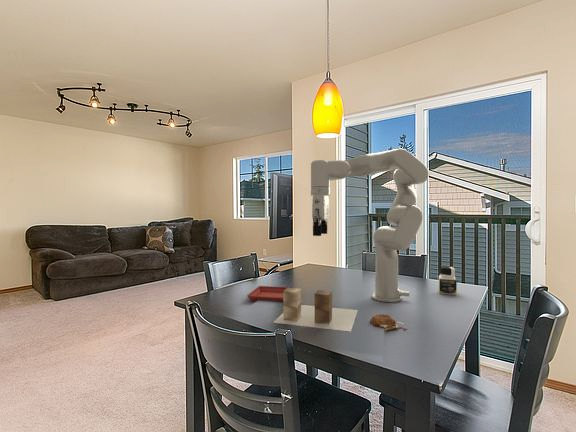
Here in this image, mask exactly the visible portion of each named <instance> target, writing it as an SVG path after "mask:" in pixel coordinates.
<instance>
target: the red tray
mask: <svg viewBox="0 0 576 432" xmlns="http://www.w3.org/2000/svg"><path fill="white" fill-rule="evenodd" d="M287 288H292V287H289V286H288V287H287V286H267V285H266V286H265V285H259V286H257V287H256V288H255V289H254V290H252V291H251V292H249V293H248V294H247V298H248V299H250V301H251V302H254V303H255V302H258V301H273V302H274V301H275V302H283V291H284V290H286V289H287Z"/></svg>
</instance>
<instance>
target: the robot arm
mask: <svg viewBox="0 0 576 432" xmlns="http://www.w3.org/2000/svg"><path fill="white" fill-rule="evenodd" d="M390 171H393V181H394V184H395V186H396V195H395V198H394V200H393V202H392V204H391V206H390V208H389V210H388V211H387V214H386V221H387V223H388V224H389V225H391V226H389V225H385V226H384V225H383V226H380V227H378V228H376V230H375V231H374V234H373V244H374V251H375V283H374V288H375V291H374V292H373V293H372V294H371V299H373V300H375V301H378V302H383V303H384V302H385V303H398V302H400V301H402V300H403V299H402V297H410V291H406V290H400V287H399V255H398V252H397V251H406V250H407V249H409V248H410V246H411V245H412V243H413V241H414V239H416V238H415V237H416V235H417V234H418V231H419V229H420V227H421V224H422V221H423V212H422V210H421V208H420V207H418V206H417V205H415V203H416V201H417V192H416V189H415V187H414V185H420V184H423V183H425V182H427V180H428V179H429V176H430V171H429V169H428V167H427V166H426V165H425V163H424V162H422V161H421V160H419V158H418V157H417V156H415V155H414V154H413V153H412V152H410V151H408V150H407V149H404V148H395V149H391V150H386V151H381V152H375V153H373V152H372V153H367V154H362V155H358V156H356V157H353V158H348V159H344V160H341V159H339V160H338V159H337V160H323V159H318V160H313V161H312V162H311V163H310V196H312V199H311V200H312V202H311V203H312V205H311V210H312V211H311V218H312V236H313V237H322V235H323V234H324V235H327V234H328V221H329V219H330V200H329V199H330V198H329V196H330V195H331V182H332V181H335V180H336V181H337V180H343V179H347V178H352V177H363V176H368V175H375V174H379V173H380V174H381V173H383V172H390Z"/></svg>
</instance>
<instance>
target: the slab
mask: <svg viewBox="0 0 576 432" xmlns="http://www.w3.org/2000/svg"><path fill="white" fill-rule="evenodd" d="M358 311H359V310H358V309H349V308H341V307H340V308H339V307H332V321H331V323H330V325H325V324H316V323H315V305H306V304H301V318H300V319H299V320H298V321H289V320H283V312H282V313H281V314H280V315H279V316H278V317H277V318H276V319H275V320H274V321H273V322H272V324H274V323H275V324H282V325H290V326H299V327H309V328H315V329H324V330H325V329H326V330H334V331H342V332H343V331H345V332H352V329H353V326H354V323H355V320H356V317H357V315H358Z"/></svg>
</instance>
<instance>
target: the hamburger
mask: <svg viewBox="0 0 576 432" xmlns="http://www.w3.org/2000/svg"><path fill="white" fill-rule="evenodd" d="M369 323H370V324H371V325H372V326H373V327H378V328H384V332H387V331H392V330H393V329H395V328H397V329H399V330H403V331H404V332H405V331H407V330H408V328H406V327H401V326H399V325H398V323H399V324H402V325H405V324H404V323H402V322H400V321H397V320H395V319H394V318H393V317H392V316H391V315H390V314H389V315H388V314H384V313H383V314H375V315H373V316H372V317H371V318H370V320H369Z"/></svg>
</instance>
